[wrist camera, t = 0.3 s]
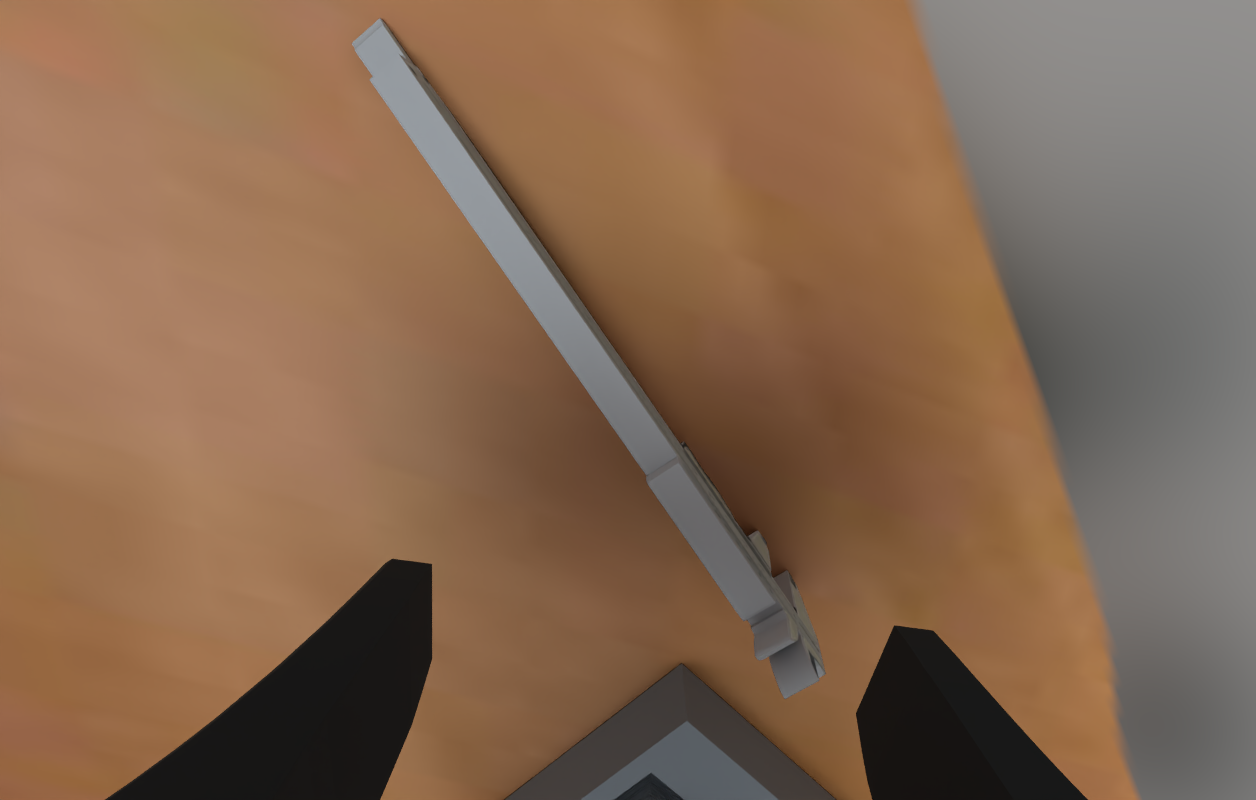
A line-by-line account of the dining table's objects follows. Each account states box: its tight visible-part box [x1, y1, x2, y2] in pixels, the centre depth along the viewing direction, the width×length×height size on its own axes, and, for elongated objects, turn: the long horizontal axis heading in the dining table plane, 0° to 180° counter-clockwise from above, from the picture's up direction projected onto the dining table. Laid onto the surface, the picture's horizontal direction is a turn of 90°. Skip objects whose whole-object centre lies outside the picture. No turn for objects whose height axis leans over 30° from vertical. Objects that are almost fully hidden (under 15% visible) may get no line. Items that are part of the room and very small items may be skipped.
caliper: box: [352, 18, 826, 699], centre depth 17 cm, size 20×1×6 cm, turn 36°
